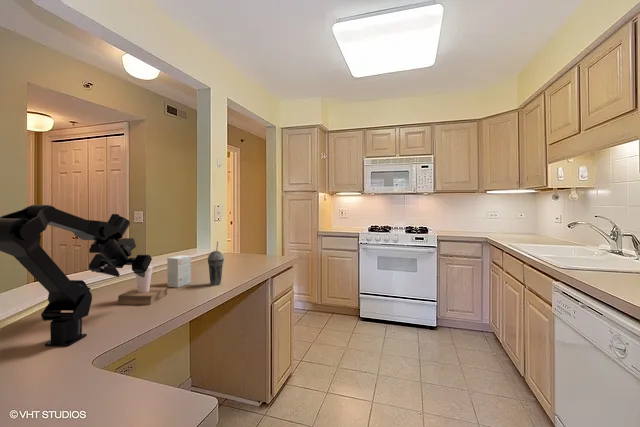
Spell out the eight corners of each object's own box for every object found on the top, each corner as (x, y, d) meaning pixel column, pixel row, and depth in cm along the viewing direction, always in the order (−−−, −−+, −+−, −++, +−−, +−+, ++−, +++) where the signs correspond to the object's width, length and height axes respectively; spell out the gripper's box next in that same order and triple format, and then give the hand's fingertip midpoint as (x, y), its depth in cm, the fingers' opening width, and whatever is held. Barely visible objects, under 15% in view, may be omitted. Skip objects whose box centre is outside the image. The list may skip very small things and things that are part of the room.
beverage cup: (203, 285, 138) (204, 242, 138) (213, 281, 145) (214, 240, 145) (217, 287, 136) (217, 243, 135) (226, 283, 143) (227, 241, 142)
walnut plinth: (150, 304, 112) (150, 296, 111) (118, 303, 112) (118, 295, 111) (167, 294, 124) (167, 287, 123) (137, 294, 124) (137, 286, 123)
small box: (180, 282, 143) (180, 254, 143) (191, 283, 141) (191, 255, 141) (166, 286, 136) (166, 257, 135) (177, 287, 134) (177, 258, 133)
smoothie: (150, 293, 115) (150, 256, 115) (131, 294, 113) (131, 257, 113) (154, 288, 121) (155, 254, 121) (136, 289, 119) (136, 254, 119)
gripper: (149, 231, 104) (165, 258, 115) (94, 230, 104) (116, 257, 115) (135, 258, 96) (153, 284, 107) (76, 257, 96) (101, 283, 107)
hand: (131, 275), depth 109 cm, fingers open, 9 cm apart
